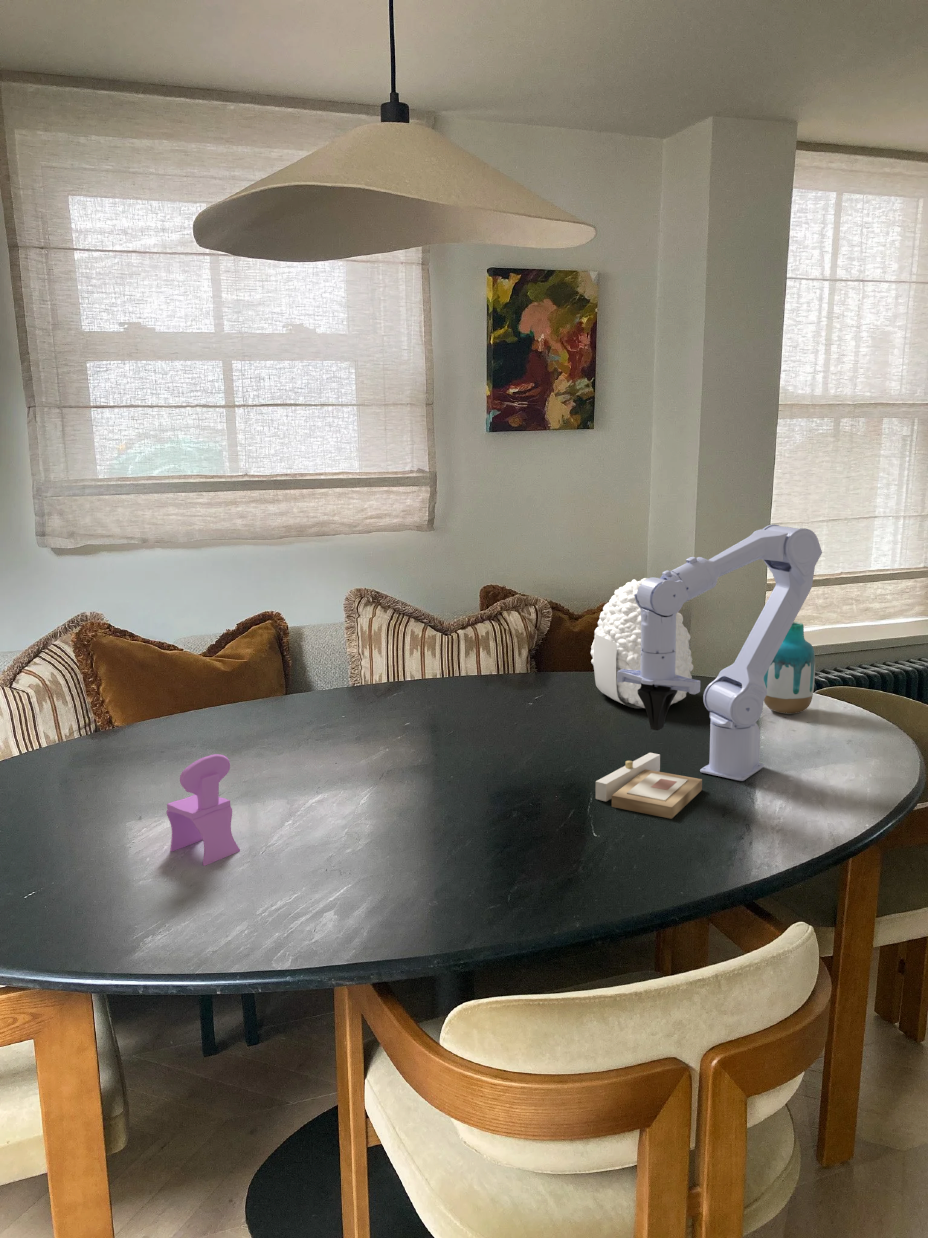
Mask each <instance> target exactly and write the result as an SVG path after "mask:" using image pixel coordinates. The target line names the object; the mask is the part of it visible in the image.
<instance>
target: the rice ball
mask: <svg viewBox="0 0 928 1238" xmlns="http://www.w3.org/2000/svg"><path fill="white" fill-rule="evenodd" d="M646 579H648V577H644V578H642V579H640V580H637V579H635V578H634V579H632V580H631V581H628V582H626V583H625V585H623V586H620V587H618V589H614V592H613V594H614V595H612V596H611V597H610V599H609V602H607V603H605V604H604V606H603V607H602V611H601V612H600V614H599V616H598V617H599V619H598V621H597V627H596V628H595V630H594V635H593V637H594V639H593V642H591V643H592V645H591V646H590V648H591V649H590V655H591V657H592V659H591V661H590V662H591V664H592V666H593V670H594V671H593V673H594V681H595V686H596V687H597V689H598V690H599V691H600V692H601V693H602V694H603V695H605V696H607V697H608V698H609V699H612V700H614V701H615V702H618V703H620V704H623V705H625V706H627V707H629V708H634V709H645V707H644V704H643V702H642V700H641V699H640V697H639V695H638V692H637V690H638V689H640V687H641V684H635V683H629V682H617V671H619V670H622V669H628V670H641V610H640V608H639V606H638V605H637V603H636V601H635V597H634V595H635V594H637V591H638V588H639V586H640V585H641V583H642V582H643V581H644V580H646ZM683 622H684V616H683V614H681V612H678V613H677V614H676V660H675V674H676V675H679V676H683V677H686V678H690V679H693V677H692V674H691V672H692V671H693V670H694V665H693V663H692V662H693V656H692V651H691V649H692V647H691V642H690V639H691V634H690V633H689V632H688V629H687V627H685V626H684V624H683ZM687 693H688V692H684V691H677V693H676V695H675V697H674V698H673V700H672V702H671V704H670V706H671V705H673V704H677V703H678V702H680V701H682V700H683V699H685V698H686V697H687Z"/></svg>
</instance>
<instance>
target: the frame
mask: <svg viewBox="0 0 928 1238" xmlns="http://www.w3.org/2000/svg"><path fill="white" fill-rule="evenodd" d="M702 791H703V779H702V778H697V777H691V776H685V775H679V774H674V773H669V772H663V771H659V772H658V771H652V770H647V769H645V770H644V771H642V772H641V773H640V774H639V775H637V776H636V777H635V778H633V779H632V780H631V781H630V782H628V783H627V784H626V785H624V786H623V787H622V788H621V789H619V790H618V791H617V792H616V793H614V794H613V795H612V799H611V807H612V808H616V809H620V810H621V809H622V810H626V811H632V812H636V813H641V814H646V815H651V816H656V817H662V818H665V819H666V818H667V819H673V818H674V817H675V816H676V815H678V814H679V812H681V811H682V810H683V809H684V808H685V806H687V805H688V804H689V803H690V802H691V801H692V800H693V799H694V798H695V797H696V796H697V795H698V794H699V793H700V792H702Z"/></svg>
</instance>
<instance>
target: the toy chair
mask: <svg viewBox="0 0 928 1238" xmlns="http://www.w3.org/2000/svg"><path fill="white" fill-rule="evenodd" d="M230 768H231V762H230V759H229V758H228V756H225V755H224V754H218V753H214V754H210V755H207V756H203V757H200V758H198V759H197V760H195V761H193V762H192V763H191V764H189V765H188V766H186V768H184V769H183V770H182V771H181V773H180V775H179V776H180V777H179V782H180V786H181V787H182V788H183V789H184V791H185V792H186V793H189V794H192V795H190V796H188V797H185V798H182V799H178V800H174V801H172V802H171V801H170V802H168V803H167V804H166V808H167V810H166V812H165V813H166V816H167V818H168V821H169V824H170V828H171V839H170V840H171V841H170V848H169V850H170V852H175V851H177V850H180V849H183V848H185V847H187V846H190V845H193V844H195V843H198V842H200V841H202V842H203V857H202V866H204V867H205V866H208V865H210V864H212V863H215V862H217V861H220V860H222V859H224V858H227V857H229V856H231V855H233V854H236V853H238V852H240V851H241V849H240V847H239V846H238V844H237V843H236V841H235V838H234V837H233V833H232V819H233V817H232V816H233V808H232V806H231V800H230V799H227V798H225V797H220V796H219V793H220V792H219V791H220V782H221V781H222V779H223V778H225V777H226V776H227V775H228V773H229V772H230Z"/></svg>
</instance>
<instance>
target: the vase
mask: <svg viewBox="0 0 928 1238" xmlns="http://www.w3.org/2000/svg"><path fill="white" fill-rule="evenodd" d="M804 627H805V626H804V624H803V623H802V622H798V621H794V622H793V624H792V626H791V627H790V629H789V631H788V633H787V635H786V637H785V639H784V641H783V642H782V644H781V646H780V648H779V650H778V652H777V654H776V655H775V657H774V659H773V661H772V663H771V665H770V667H769V668H768V670H767V672H766V674H765V676H764V678H763V679H764V682H765V685H766V688H767V695H766V697H765V699H764V702H763V704H765V706H766V707H767V709H769V710H771V711H773V712H775V713H776V712H777V713H779V714H787V715H788V714H789V715H790V714H799V713H802V712H804V711H806V710H807V709H808V708H809V707H810V705H811V703H812V701H813V697H814V689H815V679H816V677H815V675H816V655H815V654H816V653H815V649H814V647H813V645H812V644H811V643H810V642H808V641H807V640H806V638H805V634H804V633H805V632H804V631H805V630H804Z"/></svg>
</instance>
